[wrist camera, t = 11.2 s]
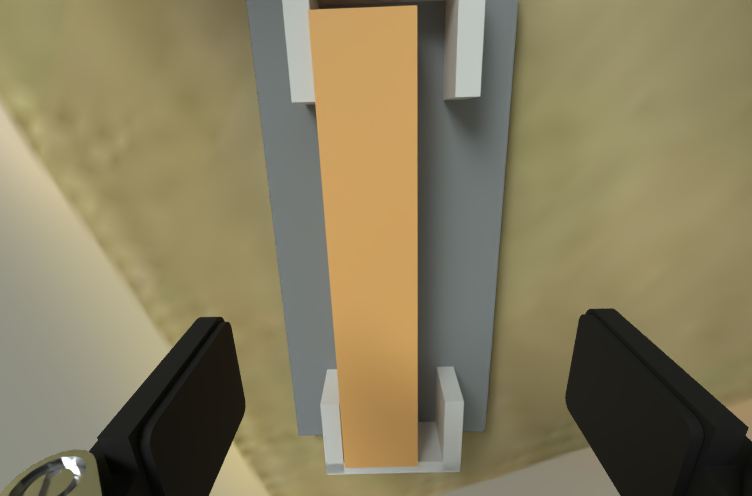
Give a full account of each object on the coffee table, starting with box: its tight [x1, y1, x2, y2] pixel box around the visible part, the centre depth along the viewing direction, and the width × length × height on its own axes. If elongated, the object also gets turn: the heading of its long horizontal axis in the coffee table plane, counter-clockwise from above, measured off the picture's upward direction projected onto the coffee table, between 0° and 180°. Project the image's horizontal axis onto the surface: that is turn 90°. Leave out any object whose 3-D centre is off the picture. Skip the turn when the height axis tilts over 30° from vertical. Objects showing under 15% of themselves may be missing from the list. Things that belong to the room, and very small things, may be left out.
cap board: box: [246, 0, 518, 475], centre depth 20 cm, size 25×12×4 cm, turn 2°
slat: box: [308, 5, 418, 468], centre depth 19 cm, size 22×4×4 cm, turn 2°
